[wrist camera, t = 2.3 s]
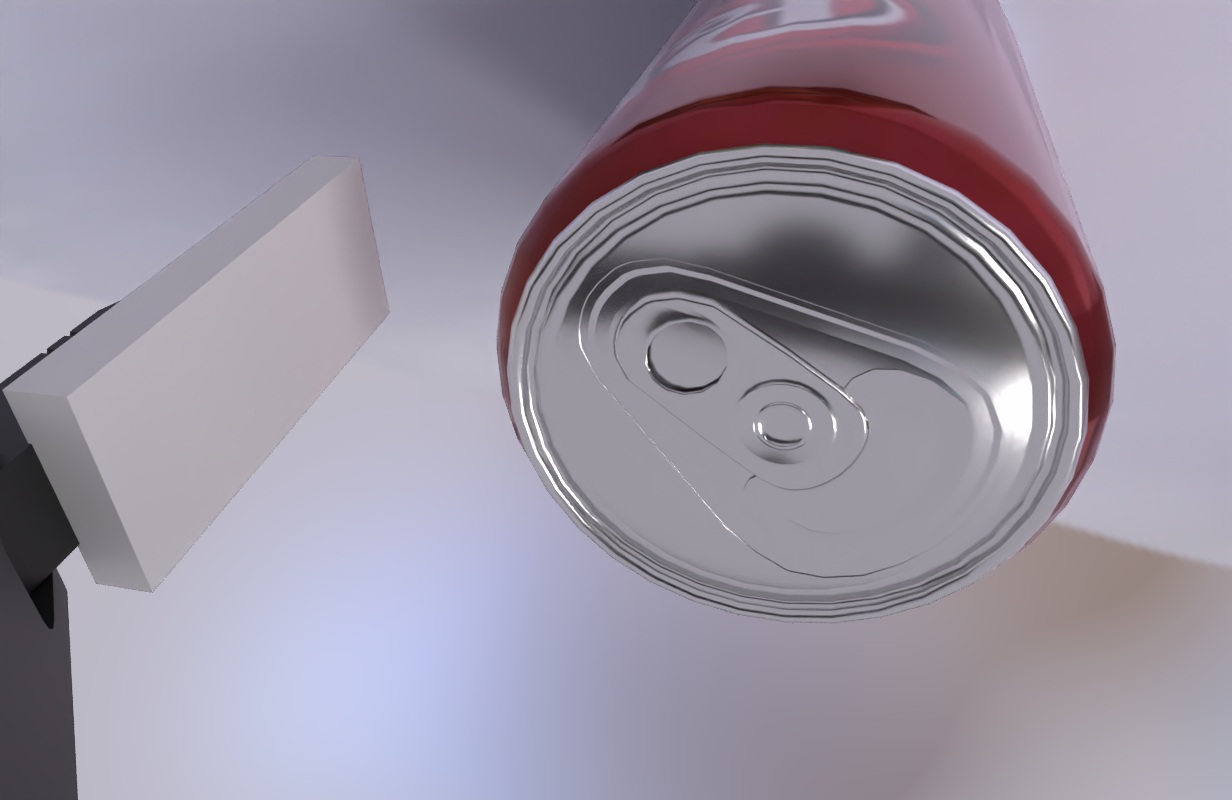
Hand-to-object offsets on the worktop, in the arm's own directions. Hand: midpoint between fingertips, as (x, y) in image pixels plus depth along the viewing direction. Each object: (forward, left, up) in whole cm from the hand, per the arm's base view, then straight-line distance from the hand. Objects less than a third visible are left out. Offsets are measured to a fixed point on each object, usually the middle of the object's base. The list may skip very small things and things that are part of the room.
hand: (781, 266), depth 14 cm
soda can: (0, 0, -9) cm, 9 cm away
